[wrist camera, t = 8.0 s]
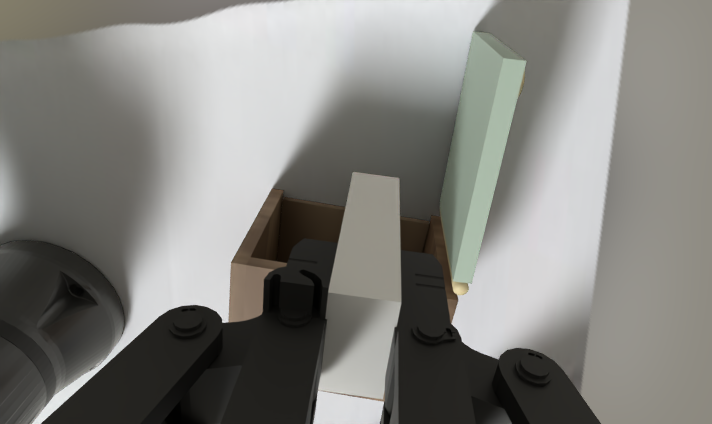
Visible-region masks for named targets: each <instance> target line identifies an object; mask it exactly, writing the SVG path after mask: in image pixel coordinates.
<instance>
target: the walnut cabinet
mask: <svg viewBox="0 0 712 424" xmlns="http://www.w3.org/2000/svg"><path fill="white" fill-rule="evenodd" d="M283 191H284V190H278V189H272V190H271V191H270V193H269V195H268V197H267V199H266V200H265V202H264V204H263V206H262V208H261V209H260V211H259V213H258V215H257V217H256V219H255V220H254V222H253V224H252V226H251V228H250V229H249V231H248V233H247V235H246V237H245V238H244V240H243V242H242V244H241V246H240V247H239V249H238V251H237V253H236V255H235V256H234V258H233V260H232V262H231V277H230V300H229V322H239V321H245V320H250V319H252V318H255V317H258V316H260V315H261V314H262V312H263V288H264V278H265V277H266V276H267V275H268V273H269V272H271V271H273V270H275V269H277V268H280V267H285V266H286V265H287V262H288V260H289V257H290V254H291V251H292V248H293V247H294V246H295V245H296V244H297V243H299V242H300V241H301V240H303V239H304V238H306V239H313V240H320V241H328V242H335V243H338V241H339V236H340V232H341V227H342V222H343V217H344V212H345V207H342V206H336V205H330V204H324V203H318V202H312V201H306V200H300V199H294V198H288V197H284V198H283ZM281 212H282V213H281ZM400 250H404V251H412V252H419V253H427V254H433V255H434V256H435V258H436V259H437V260H438V261H439V263H440V264H441V265H442V269H443V276H444V282H445V290H446V295H447V302H448V308H449V315H450V321H451V323H452V319H453V316H454V313H455V309H456V306H457V303H458V297H457V294H455V293H454V291H453V287H452V281H451V275H450V269H449V263H448V258H447V252H446V246H445V240H444V234H443V229H442V223H441V217H439V216H433V215H432V216H431V220H430V224H429V221H426V220H420V219H414V218H408V217H402V216H400ZM318 391H319V390H318ZM324 392H327V391H324ZM330 393H334V392H330ZM336 394H341V393H336ZM342 395H348V394H342ZM348 396H354V397H360V398H366V399H372V400H378V401H384V400H385V391H384V396H383V399H377V398H370V397H363V396H355V395H348Z"/></svg>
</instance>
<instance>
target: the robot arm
mask: <svg viewBox="0 0 712 424" xmlns="http://www.w3.org/2000/svg"><path fill="white" fill-rule="evenodd" d="M123 328H124V314H123V309H122V306H121V303H120V300H119V298H118V296H117V294H116V292H115V290H114V289H113V287H112V286H111V284H110V283H109V282H108V281H107V279H106V278H105V277H104V276H103V275H102V274H101V273H100V272H99V271H98V270H97V269H96V268H95V267H93V266H92V265H91V264H90V263H88V262H87V261H86V260H84V259H83V258H81V257H79V256H78V255H76V254H74V253H72V252H70V251H68V250H66V249H64V248H61V247H58V246H55V245H52V244H48V243H44V242H38V241H13V242H9V243H5V244H2V245H0V424H32V423H33V421H34V420H35V419H36V418H37V416H38V415H39V414H40V412H41V411H42V410H43V409H44V407H45V406H46V405H47V404H48V402H49V401H50V400H51V399H52V397H53V396H54V395H55V394H57V393H58V392H59V391H61V390H62V389H64V388H65V387H67V386H68V385H69V384H71V383H72V382H74V381H75V380H76V379H78V378H79V377H81V376H82V375H83V374H85V373H87V372H89V371H91V370H92V369H94V368H95V367H97V366H98V365H100V364H101V363H102V362H103V361H104V360H105V359H106V358H107V356H108V355H109V354H110V352H111V351H112V350H113V348H114V347H115V346H116V344H117V343H118V341H119V340H120V338H121V335H122V332H123ZM318 390H319V391H327V392H334V393H341V394H348V395H355V396H363V397H370V398H377V399H383V396H384V391H385V400H384V406H383V411H382V417H381V422H380V424H601V423H600V422H599V420H598V419H597V417H596V416H595V415H594V413H593V412H592V410H591V409H590V408H589V406H588V405H587V403H586V402H585V401H584V399H583V398H582V396H581V395H580V393H579V392H578V391H577V389H576V388H575V386H574V385H573V384H572V382H571V381H570V379H569V378H568V377H567V375H566V374H565V372H564V371H563V370H562V369H561V368H560V367H559V366H558V365H557V364H556V362H555V361H553V360H552V359H550V358H548V357H547V356H545V355H544V354H542V353H539V352H536V351H533V350H530V349H522V348H515V349H510V350H507V351H505V352H504V353H503V354H502V355H501V356H500V359H499V360H498V359H495V358H492V357H490V356H487V355H484V354H482V353H479V352H477V351H475V350H473V349H471V348H470V347H468V346H467V345H465V344H464V343H463V342H462V340H461V337H460V335H459V332H458V330H457V329H456V328H455V327H454V326H453V325H452V324H451V321H450V315H449V308H448V302H447V295H446V290H445V282H444V276H443V269H442V265H441V264H440V263H439V261H438V260H437V259H436V258H435V256H434V255H433V254H427V253H419V252H412V251H404V250H400V189H399V178H396V177H388V176H381V175H373V174H366V173H358V172H353V173H352V178H351V183H350V188H349V193H348V198H347V203H346V207H345V212H344V217H343V222H342V227H341V232H340V236H339V241H338V243H335V242H328V241H320V240H313V239H306V238H304V239H303V240H301V241H300V242H299V243H297V244H296V245H295V246H294V247H293V248H292V251H291V254H290V257H289V260H288V262H287V265H286V266H285V267H280V268H277V269H275V270H273V271H271V272H269V273H268V275H267V276H266V277H265V278H264V288H263V312H262V314H261V315H260V316H258V317H255V318H252V319H250V320H245V321H239V322H228V323H222V318H221V317H220V316H219V315H218V313H217V312H216V311H214V310H212V309H210V308H208V307H204V306H197V305H190V306H181V307H178V308H174V309H171V310H169V311H167V312H166V313H164V314H163V315H161V316H159V317H158V318H157V319H156V320H155V321H154V322H153V323H152V324H151V325H149V326H148V327H147V328H146V329H145V330H144V331H143V332H142V333H141V334H140V335H138V336H137V337H136V338H135V339H134V340H133V341H132V342H131V343H130V344H129V345H127V346H126V347H125V348H124V349H123V350H122V351H121V352H120V353H119V354H117V355H116V356H115V357H114V358H113V359H112V360H111V361H110V362H109V363H108V364H106V365H105V366H104V367H103V368H102V369H101V370H100V371H99V372H98V373H96V374H95V375H94V376H93V377H92V378H91V379H90V380H89V381H88V382H87V383H85V384H84V385H83V386H82V387H81V388H80V389H79V390H78V391H77V392H75V393H74V394H73V395H72V396H71V397H70V398H69V399H68V400H67V401H66V402H64V403H63V404H62V405H61V406H60V407H59V408H58V409H57V410H56V411H54V412H53V413H52V414H51V415H50V416H49V417H48V418H47V419H46V420H45V421H43V422H42V423H41V424H313V421H314V415H315V410H316V401H317V392H318Z"/></svg>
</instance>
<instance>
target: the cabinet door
mask: <svg viewBox="0 0 712 424" xmlns="http://www.w3.org/2000/svg"><path fill="white" fill-rule="evenodd" d="M526 62H527V61H526V60H525V59H523V58H522V57H521V56H519V55H518V54H517V53H515V52H514V51H513V50H511V49H510V48H509V47H507V46H506V45H505V44H503V43H502V42H501V41H499V40H498V39H497V38H495V37H494V36H493V35H491V34H490V33H485V32H476V31H473V34H472V39H471V44H470V49H469V54H468V59H467V65H466V70H465V75H464V80H463V85H462V90H461V95H460V100H459V106H458V111H457V116H456V121H455V126H454V131H453V136H452V141H451V147H450V152H449V157H448V162H447V167H446V172H445V177H444V182H443V188H442V193H441V198H440V203H439V205H440V209H439V211H440V217H441V223H442V229H443V234H444V240H445V246H446V252H447V258H448V263H449V269H450V275H451V281H452V287H453V291H454V293H455V294H457V295H464V294H466V293H467V292H468V290H469V287H468V283H470V284H472V280H473V276H474V272H475V268H476V264H477V260H478V256H479V252H480V248H481V244H482V240H483V236H484V231H485V227H486V223H487V219H488V215H489V211H490V207H491V203H492V199H493V195H494V191H495V187H496V183H497V179H498V175H499V171H500V167H501V163H502V159H503V155H504V151H505V147H506V143H507V139H508V134H509V130H510V126H511V122H512V118H513V114H514V110H515V106H516V102H517V98H518V97H519V95H520V94H521V91H522V88H523V84H524V79H525V66H526Z"/></svg>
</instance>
